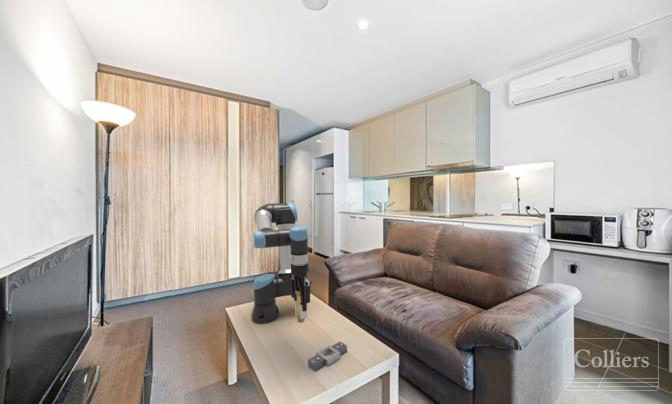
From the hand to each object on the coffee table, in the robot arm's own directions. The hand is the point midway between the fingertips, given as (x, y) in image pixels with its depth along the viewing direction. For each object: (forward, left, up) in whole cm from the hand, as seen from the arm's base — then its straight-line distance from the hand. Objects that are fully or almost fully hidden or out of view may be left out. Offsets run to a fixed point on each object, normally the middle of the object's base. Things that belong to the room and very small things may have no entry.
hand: (301, 316), depth 111 cm
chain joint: (+11, +6, -17) cm, 21 cm away
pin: (0, 0, -2) cm, 2 cm away
